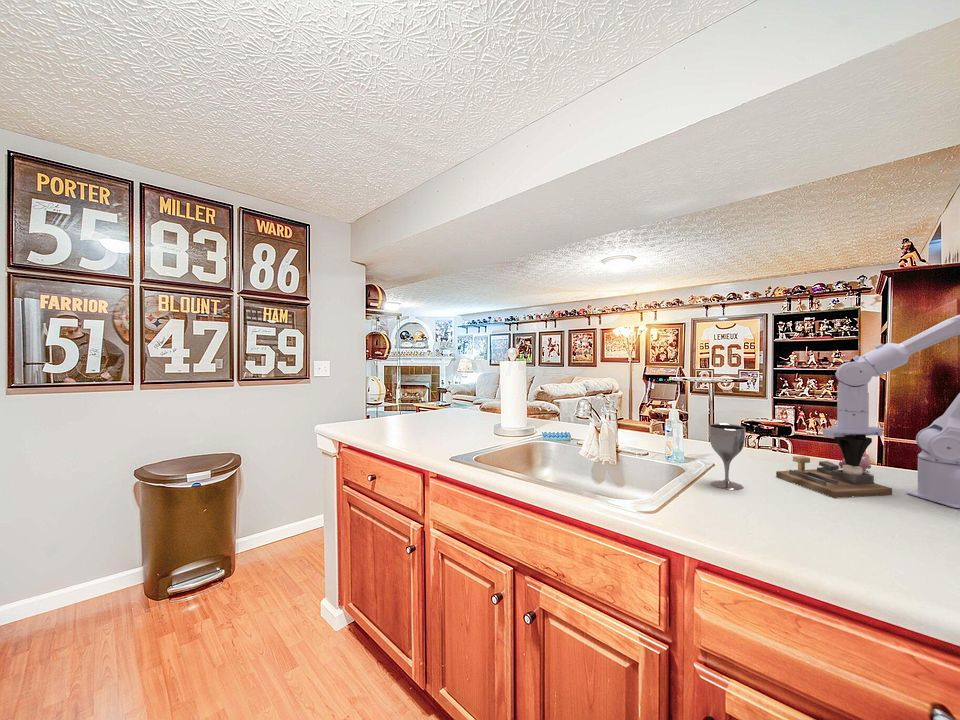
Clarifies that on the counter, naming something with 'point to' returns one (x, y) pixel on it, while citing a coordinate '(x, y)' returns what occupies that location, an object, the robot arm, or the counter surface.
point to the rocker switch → (828, 465)
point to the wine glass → (727, 449)
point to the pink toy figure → (864, 462)
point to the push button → (852, 470)
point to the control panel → (836, 482)
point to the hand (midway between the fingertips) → (852, 465)
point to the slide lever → (801, 463)
